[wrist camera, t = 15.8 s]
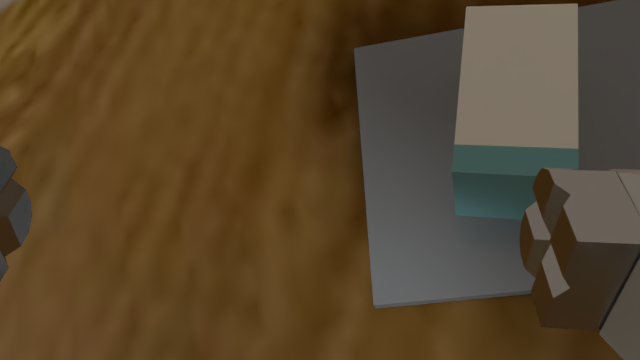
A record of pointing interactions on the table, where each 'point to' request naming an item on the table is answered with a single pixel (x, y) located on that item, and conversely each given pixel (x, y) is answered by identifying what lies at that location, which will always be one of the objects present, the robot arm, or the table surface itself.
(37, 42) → the table surface
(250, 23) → the table surface
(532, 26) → the block
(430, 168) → the slate tile
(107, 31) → the table surface
